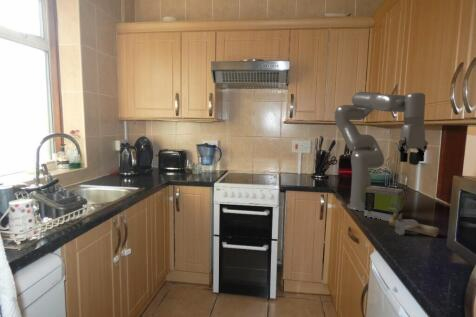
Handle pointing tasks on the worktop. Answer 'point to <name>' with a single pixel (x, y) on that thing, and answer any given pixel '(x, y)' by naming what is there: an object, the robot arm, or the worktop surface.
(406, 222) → the hook
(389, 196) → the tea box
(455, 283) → the worktop surface
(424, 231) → the pivot link
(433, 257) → the worktop surface
